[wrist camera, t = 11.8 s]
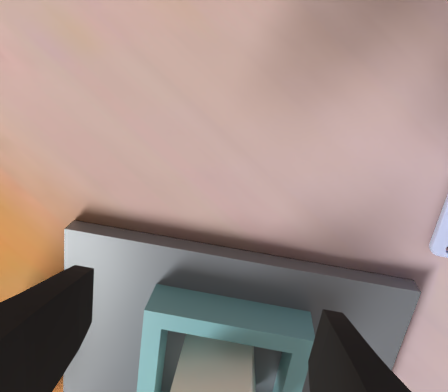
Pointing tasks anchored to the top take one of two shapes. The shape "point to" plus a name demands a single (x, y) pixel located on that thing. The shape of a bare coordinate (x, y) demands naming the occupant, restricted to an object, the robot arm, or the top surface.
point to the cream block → (214, 366)
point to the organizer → (216, 308)
